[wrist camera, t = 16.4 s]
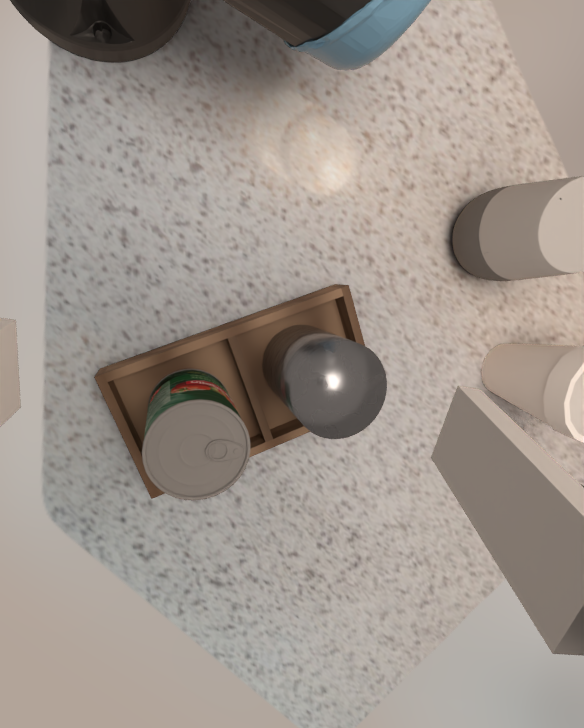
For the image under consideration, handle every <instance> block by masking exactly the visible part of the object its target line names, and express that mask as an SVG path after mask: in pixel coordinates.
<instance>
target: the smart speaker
mask: <svg viewBox="0 0 584 728" xmlns="http://www.w3.org/2000/svg"><path fill="white" fill-rule="evenodd" d="M453 249H454V253H455V256H456V258H457V260H458V261H459V263H460V264H461V266H462V267H463V268H464V269H465V270H466V271H468V272H469V273H471V274H472V275H474V276H477V277H479V278H483V279H486V280H493V281H511V280H522V279H531V278H540V277H548V276H557V275H565V274H574V273H581V272H584V176H579V177H572V178H564V179H556V180H549V181H541V182H534V183H526V184H518V185H512V186H507V187H502V188H498V189H494V190H491V191H488V192H486V193H484V194H482V195H480V196H478V197H477V198H475V199H474V200H473V201H471V202H470V203H469V204H468V205H467V206H466V207H465V208H464V209H463V211H462V212H461V214H460V215H459V217H458V219H457V221H456V223H455V226H454V230H453Z"/></svg>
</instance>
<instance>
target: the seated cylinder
mask: <svg viewBox="0 0 584 728" xmlns="http://www.w3.org/2000/svg"><path fill="white" fill-rule="evenodd" d="M262 368H263V374H264V378H265V380H266V382H267V384H268V386H269V387H270V388H271V389H272V391H273V392H274V393H275V394H276V395H277V396H278V397H279V398H280V400H281V401H282V402H283V403H284V404H285V405H286V406H287V407H288V409H289V410H290V411H291V412H292V413H293V414H294V415H295V416H296V418H297V419H298V420H299V421H300V422H301V423H302V424H303V425H304V426H305V427H306V428H307V429H308V430H309V431H311V432H312V433H314V434H316V435H318V436H320V437H324V438H329V439H341V438H346V437H350V436H352V435H355V434H357V433H359V432H360V431H362V430H363V429H365V428H366V427H367V426H368V425H370V423H371V422H372V421H373V420H374V419H375V418H376V416H377V415H378V413H379V412H380V410H381V408H382V405H383V403H384V400H385V396H386V389H387V381H386V374H385V371H384V368H383V365H382V363H381V361H380V360H379V358H378V357H377V356H376V355H375V354H374V352H372V351H371V350H370V349H369V348H367V347H366V346H364V345H362V344H359V343H357V342H354V341H351V340H349V339H346V338H343V337H340V336H338V335H335V334H332V333H330V332H327V331H324V330H322V329H319V328H316V327H314V326H310V325H293V326H290V327H287V328H285V329H283V330H282V331H280V332H279V333H277V334H276V335H275V336H274V337H273V338H272V339H271V341H270V342H269V344H268V345H267V347H266V350H265V352H264V356H263V362H262Z"/></svg>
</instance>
